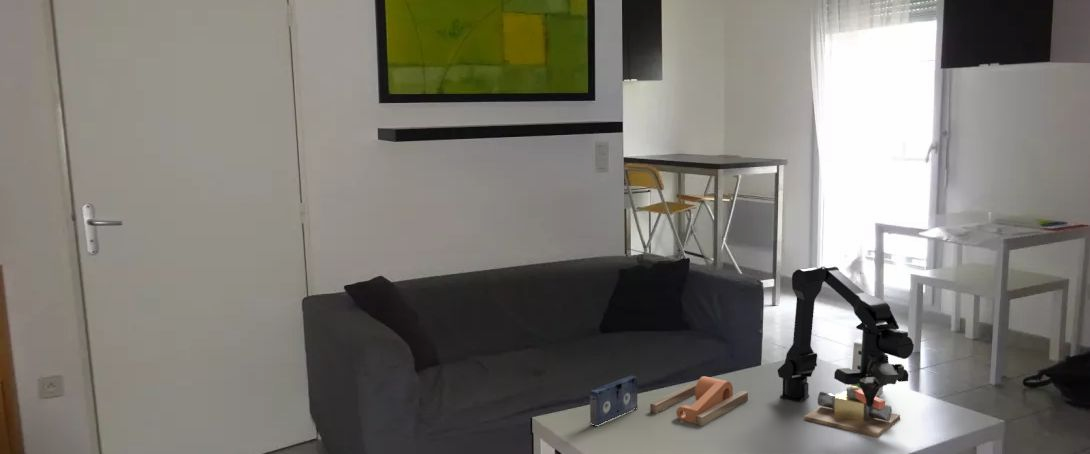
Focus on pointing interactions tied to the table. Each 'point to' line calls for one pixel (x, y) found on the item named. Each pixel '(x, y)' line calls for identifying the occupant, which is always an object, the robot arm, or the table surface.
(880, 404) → the lever
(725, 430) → the table surface
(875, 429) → the board
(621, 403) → the vhs cassette tape
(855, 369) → the skincare box
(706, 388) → the crank
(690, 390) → the pair of wooden rails
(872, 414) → the valve
